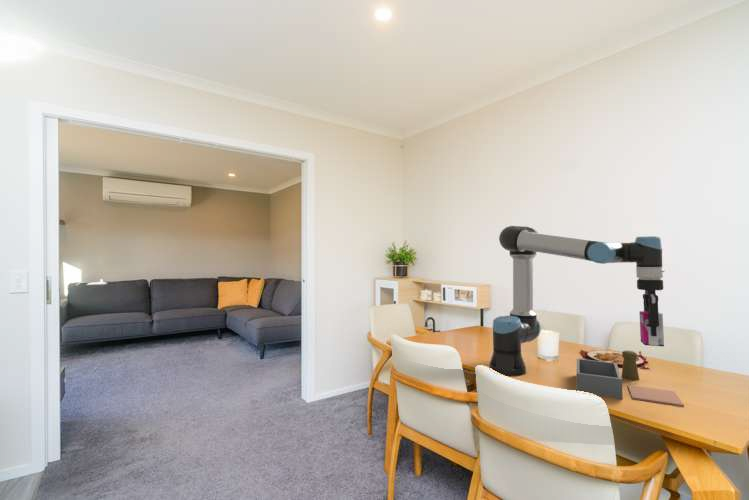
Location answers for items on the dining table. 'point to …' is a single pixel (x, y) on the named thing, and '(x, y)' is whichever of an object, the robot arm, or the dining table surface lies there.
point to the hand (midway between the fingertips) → (651, 342)
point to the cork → (629, 366)
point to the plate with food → (612, 357)
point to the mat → (654, 395)
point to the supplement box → (644, 329)
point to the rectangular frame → (599, 378)
